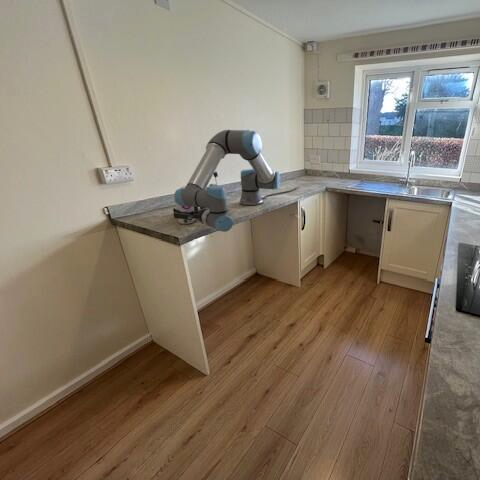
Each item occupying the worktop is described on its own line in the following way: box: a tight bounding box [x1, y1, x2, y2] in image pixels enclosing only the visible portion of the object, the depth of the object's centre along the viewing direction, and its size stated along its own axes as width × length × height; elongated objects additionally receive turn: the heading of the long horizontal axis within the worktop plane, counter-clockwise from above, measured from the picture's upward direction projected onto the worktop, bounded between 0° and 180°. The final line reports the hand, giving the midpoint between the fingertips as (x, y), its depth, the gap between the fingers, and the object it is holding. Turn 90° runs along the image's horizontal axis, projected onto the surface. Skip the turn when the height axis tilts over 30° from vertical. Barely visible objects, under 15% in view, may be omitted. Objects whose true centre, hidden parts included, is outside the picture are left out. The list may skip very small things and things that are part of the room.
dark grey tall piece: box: [208, 170, 219, 186], centre depth 182 cm, size 8×11×20 cm
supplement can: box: [173, 197, 196, 225], centre depth 136 cm, size 8×8×15 cm
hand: (187, 208), depth 134 cm, fingers open, 13 cm apart
